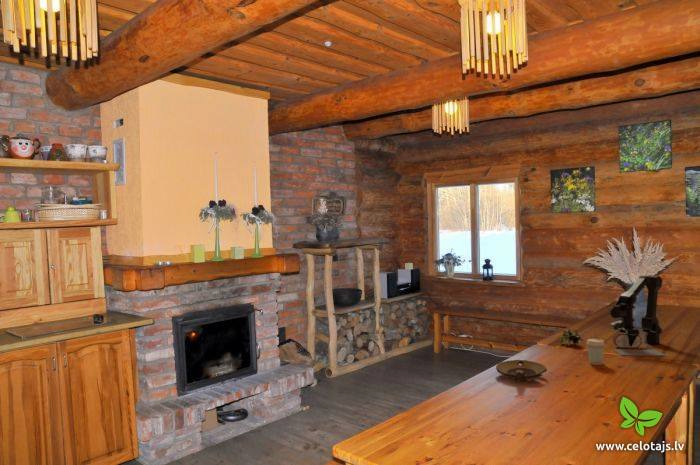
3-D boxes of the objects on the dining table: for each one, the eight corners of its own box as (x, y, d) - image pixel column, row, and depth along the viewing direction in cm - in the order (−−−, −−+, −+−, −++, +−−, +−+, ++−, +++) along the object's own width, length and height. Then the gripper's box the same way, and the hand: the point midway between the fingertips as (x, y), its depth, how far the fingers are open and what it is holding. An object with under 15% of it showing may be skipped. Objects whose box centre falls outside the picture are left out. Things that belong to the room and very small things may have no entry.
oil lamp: (554, 375, 246) (554, 359, 246) (529, 391, 224) (529, 374, 224) (509, 367, 261) (509, 352, 261) (481, 382, 238) (481, 365, 238)
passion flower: (574, 353, 306) (587, 338, 303) (567, 353, 299) (580, 337, 295) (559, 340, 314) (571, 325, 310) (552, 340, 306) (564, 324, 302)
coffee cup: (607, 366, 259) (607, 342, 259) (588, 365, 261) (588, 341, 261) (602, 361, 268) (602, 338, 268) (584, 361, 269) (584, 338, 269)
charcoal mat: (655, 350, 287) (655, 349, 287) (665, 356, 275) (665, 355, 275) (613, 350, 290) (613, 349, 290) (621, 355, 279) (621, 354, 279)
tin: (640, 347, 297) (640, 332, 297) (642, 348, 294) (642, 333, 293) (612, 347, 298) (612, 332, 298) (614, 348, 295) (614, 333, 295)
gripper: (606, 313, 306) (606, 340, 306) (618, 319, 288) (618, 347, 288) (626, 313, 304) (627, 340, 305) (639, 319, 286) (640, 348, 286)
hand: (627, 344), depth 296 cm, fingers open, 9 cm apart
